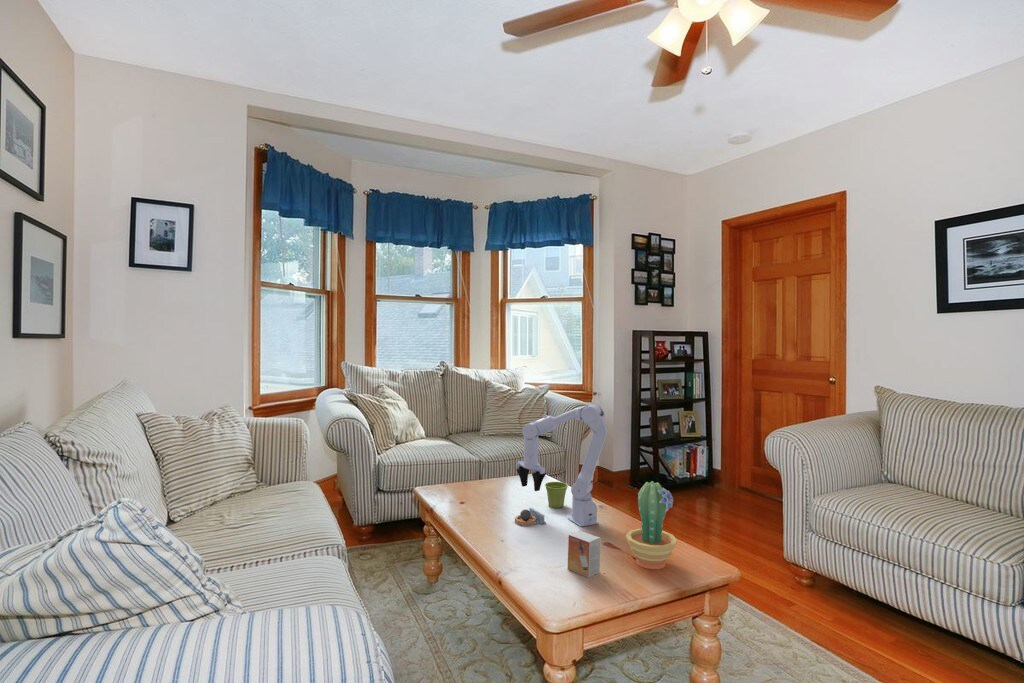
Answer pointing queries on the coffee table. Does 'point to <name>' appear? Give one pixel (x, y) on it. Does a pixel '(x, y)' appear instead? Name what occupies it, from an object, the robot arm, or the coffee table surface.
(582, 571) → the small box
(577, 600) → the coffee table surface
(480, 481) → the coffee table surface
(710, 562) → the coffee table surface
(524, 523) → the bowl
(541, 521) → the blue slab with nubs
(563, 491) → the plant pot
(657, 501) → the potted cactus
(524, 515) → the ball
